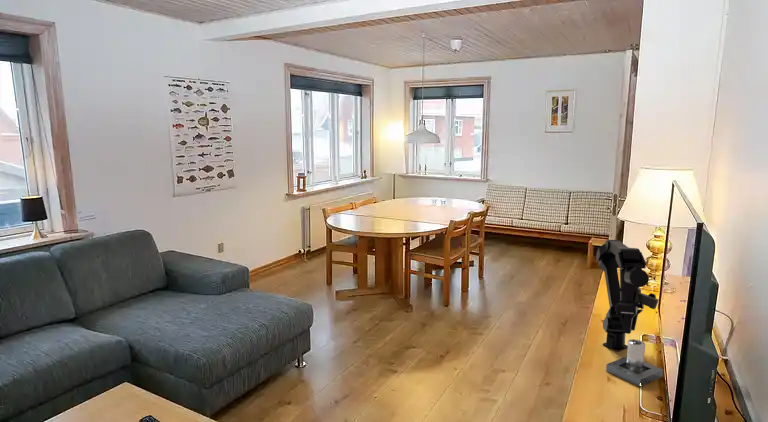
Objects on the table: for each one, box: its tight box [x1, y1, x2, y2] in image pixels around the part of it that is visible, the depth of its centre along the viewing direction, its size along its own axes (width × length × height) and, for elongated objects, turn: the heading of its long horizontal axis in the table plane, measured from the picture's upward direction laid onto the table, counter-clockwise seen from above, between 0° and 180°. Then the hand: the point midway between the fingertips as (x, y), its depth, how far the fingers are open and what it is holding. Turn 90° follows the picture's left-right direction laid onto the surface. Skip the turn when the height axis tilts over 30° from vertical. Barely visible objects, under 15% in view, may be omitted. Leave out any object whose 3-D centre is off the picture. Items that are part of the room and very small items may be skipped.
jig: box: [605, 355, 664, 387], centre depth 160 cm, size 12×12×2 cm
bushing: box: [626, 338, 646, 374], centre depth 160 cm, size 5×5×11 cm
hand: (630, 331), depth 164 cm, fingers open, 9 cm apart
